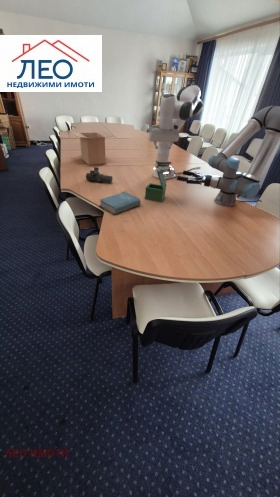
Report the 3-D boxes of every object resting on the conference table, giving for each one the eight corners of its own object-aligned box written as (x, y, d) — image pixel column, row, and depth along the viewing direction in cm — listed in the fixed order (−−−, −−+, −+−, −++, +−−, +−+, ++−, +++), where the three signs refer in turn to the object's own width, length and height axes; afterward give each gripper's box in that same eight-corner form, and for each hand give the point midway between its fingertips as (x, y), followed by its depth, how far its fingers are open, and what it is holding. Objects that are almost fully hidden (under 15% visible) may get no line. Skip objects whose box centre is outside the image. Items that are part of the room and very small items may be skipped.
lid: (156, 170, 152) (169, 167, 148) (160, 167, 159) (172, 163, 155) (162, 189, 158) (174, 187, 154) (165, 185, 165) (177, 182, 161)
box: (116, 165, 229) (116, 136, 213) (83, 168, 214) (80, 137, 198) (102, 154, 259) (101, 128, 243) (71, 156, 244) (68, 129, 228)
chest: (144, 198, 167) (145, 187, 161) (148, 194, 174) (149, 183, 168) (161, 202, 163) (162, 190, 158) (164, 197, 171) (166, 186, 165)
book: (125, 198, 165) (125, 191, 162) (140, 205, 156) (140, 199, 153) (100, 206, 151) (99, 199, 149) (115, 215, 143) (115, 207, 140)
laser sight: (109, 185, 184) (109, 173, 178) (84, 181, 187) (83, 169, 181) (113, 181, 192) (113, 169, 186) (88, 177, 195) (87, 166, 189)
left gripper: (151, 125, 133) (149, 150, 142) (181, 126, 139) (178, 149, 148) (148, 124, 138) (146, 147, 146) (177, 124, 144) (174, 147, 152)
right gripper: (206, 193, 137) (173, 185, 144) (213, 181, 156) (184, 175, 162) (209, 181, 133) (175, 174, 139) (216, 170, 151) (186, 165, 158)
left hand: (162, 148), depth 147 cm, fingers open, 8 cm apart
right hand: (180, 175), depth 151 cm, fingers open, 13 cm apart
